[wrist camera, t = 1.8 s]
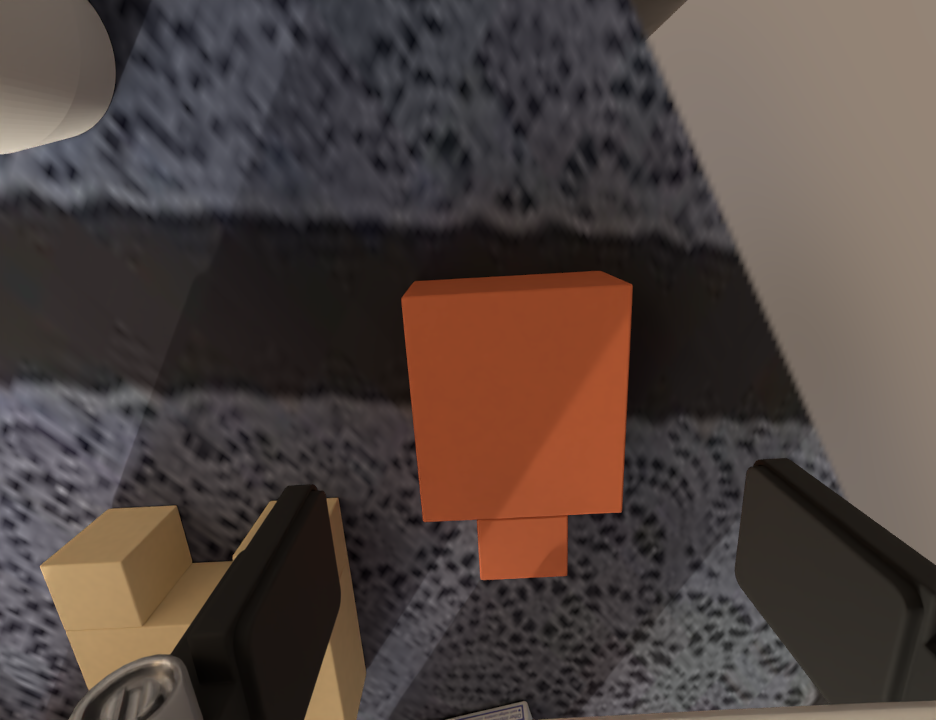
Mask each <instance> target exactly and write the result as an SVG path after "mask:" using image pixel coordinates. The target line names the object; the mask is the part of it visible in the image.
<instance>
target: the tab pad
mask: <svg viewBox="0 0 936 720" xmlns="http://www.w3.org/2000/svg"><path fill="white" fill-rule="evenodd" d="M632 293H633V286H632V284H630V283H627V282H625V281H623V280H621V279H618V278H616V277H614V276H611V275H609V274H607V273H604V272H602V271H587V272H569V273H552V274H534V275H516V276H499V277H481V278H463V279H445V280H428V281H415V282H413V283H412V285H411V286H410V287H409V289H408V290H407V291H406V293H405V294H404V295H403V297H402V299H401V302H402V312H403V322H404V332H405V343H406V353H407V363H408V373H409V383H410V393H411V404H412V414H413V424H414V434H415V444H416V455H417V465H418V475H419V485H420V495H421V506H422V516H423V521H424V522H436V521H456V520H476V519H477V530H478V547H479V564H480V578H481V580H493V579H514V578H534V577H555V576H567V560H568V515H577V514H597V513H617V512H622V501H623V480H624V460H625V439H626V418H627V397H628V376H629V355H630V334H631V314H632Z"/></svg>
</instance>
